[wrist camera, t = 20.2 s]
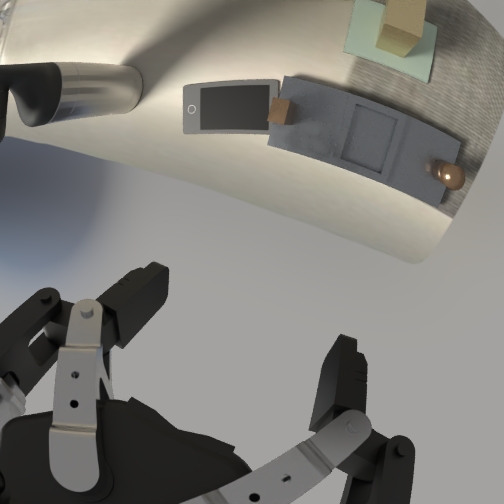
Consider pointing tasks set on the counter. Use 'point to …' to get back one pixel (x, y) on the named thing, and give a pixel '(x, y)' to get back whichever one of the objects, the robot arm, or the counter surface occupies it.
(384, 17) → the brushed brass block
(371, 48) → the pad
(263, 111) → the smartphone
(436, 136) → the grey slotted base
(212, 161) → the counter surface
